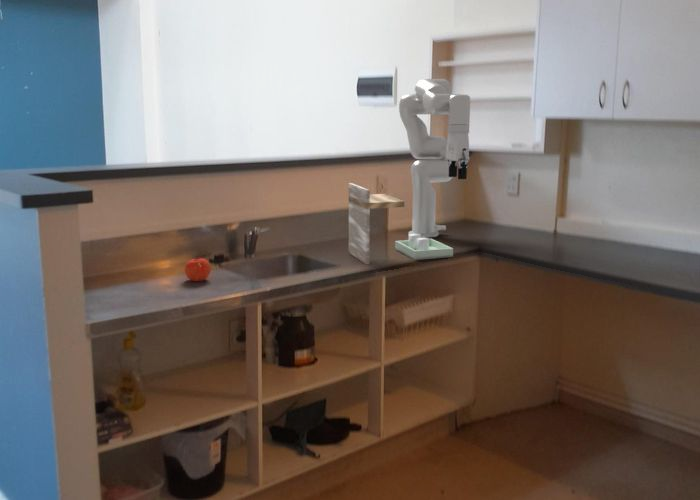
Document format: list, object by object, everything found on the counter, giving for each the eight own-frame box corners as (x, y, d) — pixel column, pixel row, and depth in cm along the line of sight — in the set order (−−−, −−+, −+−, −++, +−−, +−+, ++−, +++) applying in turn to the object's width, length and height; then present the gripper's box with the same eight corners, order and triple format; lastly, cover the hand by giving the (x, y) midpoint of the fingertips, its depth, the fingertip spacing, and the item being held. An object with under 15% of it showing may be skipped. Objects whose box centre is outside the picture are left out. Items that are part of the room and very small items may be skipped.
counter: (383, 250, 270) (384, 181, 265) (403, 261, 252) (404, 188, 246) (348, 252, 266) (348, 183, 260) (366, 264, 247) (366, 190, 242)
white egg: (425, 251, 263) (426, 237, 261) (430, 254, 259) (431, 239, 257) (414, 252, 261) (415, 238, 260) (419, 255, 257) (419, 240, 256)
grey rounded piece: (417, 247, 270) (417, 233, 269) (421, 249, 266) (422, 235, 265) (406, 248, 269) (406, 234, 268) (411, 250, 265) (411, 236, 264)
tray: (431, 246, 276) (431, 238, 275) (452, 257, 258) (453, 248, 257) (395, 249, 271) (395, 241, 270) (414, 260, 253) (414, 251, 253)
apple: (213, 282, 224) (212, 257, 223) (187, 284, 221) (186, 259, 220) (208, 276, 232) (207, 252, 230) (183, 278, 228) (181, 254, 227)
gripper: (439, 128, 266) (438, 175, 269) (460, 130, 249) (458, 181, 253) (457, 128, 268) (456, 175, 272) (479, 130, 252) (477, 180, 255)
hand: (457, 177), depth 262 cm, fingers open, 7 cm apart
